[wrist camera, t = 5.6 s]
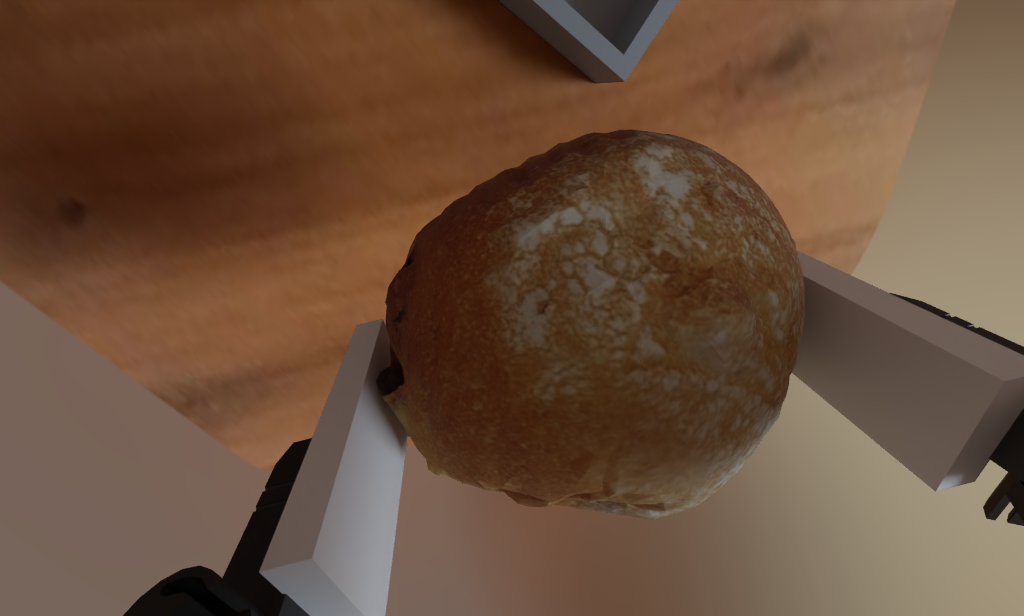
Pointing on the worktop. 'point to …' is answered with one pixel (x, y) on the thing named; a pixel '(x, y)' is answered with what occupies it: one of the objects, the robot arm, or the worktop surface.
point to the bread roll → (598, 327)
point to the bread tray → (596, 31)
